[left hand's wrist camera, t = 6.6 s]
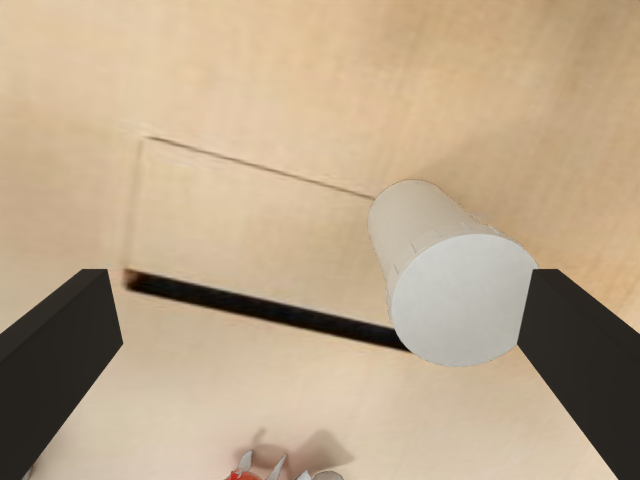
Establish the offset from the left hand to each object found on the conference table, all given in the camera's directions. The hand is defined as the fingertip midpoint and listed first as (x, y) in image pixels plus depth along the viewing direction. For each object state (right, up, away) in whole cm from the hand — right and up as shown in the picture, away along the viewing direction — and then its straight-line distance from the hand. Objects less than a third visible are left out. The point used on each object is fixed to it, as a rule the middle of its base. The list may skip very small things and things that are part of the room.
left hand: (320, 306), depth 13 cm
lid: (+9, -2, +12) cm, 15 cm away
